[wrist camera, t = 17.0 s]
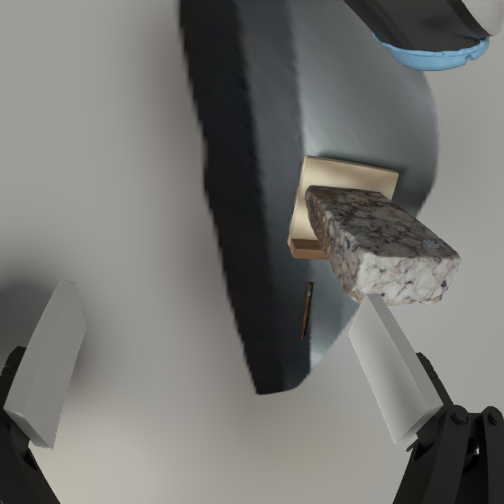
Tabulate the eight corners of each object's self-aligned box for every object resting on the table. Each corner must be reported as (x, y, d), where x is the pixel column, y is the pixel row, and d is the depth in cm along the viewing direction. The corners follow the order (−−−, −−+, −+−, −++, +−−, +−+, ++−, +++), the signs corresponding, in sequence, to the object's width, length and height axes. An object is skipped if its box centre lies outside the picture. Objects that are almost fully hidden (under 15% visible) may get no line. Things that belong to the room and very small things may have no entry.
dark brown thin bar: (302, 336, 67) (303, 339, 66) (300, 336, 67) (300, 340, 66) (310, 281, 59) (311, 284, 58) (308, 281, 59) (309, 284, 58)
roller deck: (299, 149, 45) (314, 164, 39) (385, 164, 48) (409, 180, 41) (283, 232, 52) (293, 257, 46) (363, 238, 55) (381, 262, 48)
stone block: (386, 182, 44) (469, 253, 28) (378, 223, 48) (447, 304, 31) (303, 179, 43) (363, 260, 26) (299, 225, 47) (347, 320, 30)
